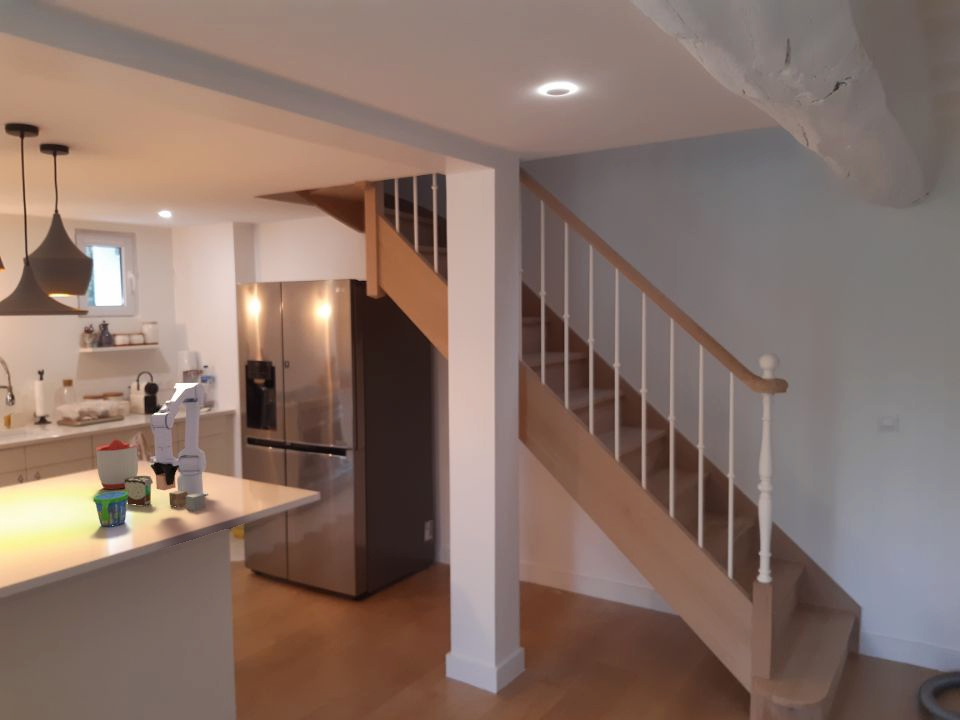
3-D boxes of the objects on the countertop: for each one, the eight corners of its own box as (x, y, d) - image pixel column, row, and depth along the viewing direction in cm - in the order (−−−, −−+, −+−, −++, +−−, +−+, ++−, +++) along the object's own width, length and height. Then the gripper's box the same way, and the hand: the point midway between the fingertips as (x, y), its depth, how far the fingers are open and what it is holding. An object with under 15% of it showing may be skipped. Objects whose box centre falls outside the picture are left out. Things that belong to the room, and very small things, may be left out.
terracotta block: (156, 488, 261) (155, 475, 261) (168, 486, 265) (167, 472, 265) (164, 490, 259) (163, 476, 258) (175, 487, 263) (174, 473, 262)
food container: (161, 502, 276) (159, 476, 276) (148, 506, 271) (146, 480, 270) (138, 499, 282) (136, 474, 281) (124, 504, 276) (122, 477, 275)
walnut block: (170, 506, 271) (169, 492, 271) (180, 503, 275) (180, 490, 275) (177, 507, 269) (176, 494, 269) (188, 504, 273) (187, 491, 272)
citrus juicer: (151, 483, 309) (148, 436, 307) (112, 492, 294) (108, 443, 292) (129, 479, 317) (126, 433, 315) (90, 488, 302) (86, 440, 301)
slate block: (186, 509, 266) (185, 496, 266) (197, 506, 270) (196, 493, 269) (194, 511, 263) (193, 497, 263) (205, 508, 267) (204, 494, 267)
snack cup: (119, 530, 243) (117, 500, 242) (86, 531, 242) (84, 501, 241) (137, 516, 258) (135, 488, 257) (106, 518, 257) (104, 489, 256)
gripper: (141, 446, 262) (143, 483, 263) (165, 449, 254) (167, 488, 255) (159, 443, 267) (161, 479, 268) (183, 446, 259) (185, 484, 260)
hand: (165, 483), depth 262 cm, fingers closed on terracotta block, 4 cm apart
